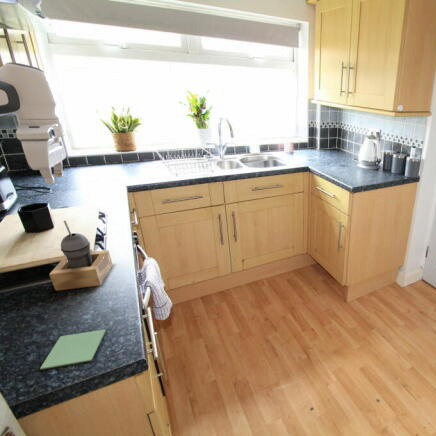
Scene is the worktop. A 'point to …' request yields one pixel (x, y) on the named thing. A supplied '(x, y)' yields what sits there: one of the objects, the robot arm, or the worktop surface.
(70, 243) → the beverage cup
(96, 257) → the holder
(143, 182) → the worktop surface
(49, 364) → the mat
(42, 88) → the robot arm
